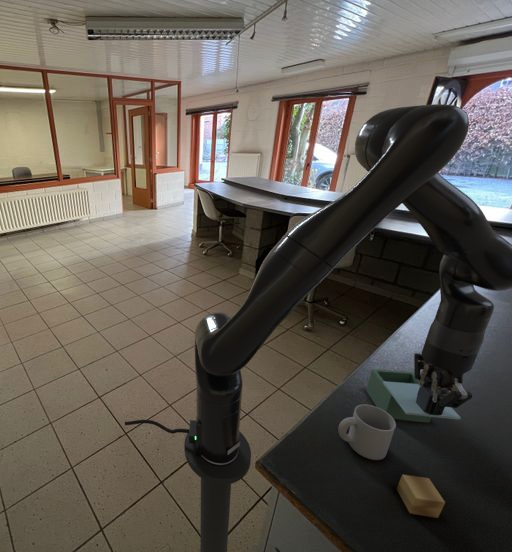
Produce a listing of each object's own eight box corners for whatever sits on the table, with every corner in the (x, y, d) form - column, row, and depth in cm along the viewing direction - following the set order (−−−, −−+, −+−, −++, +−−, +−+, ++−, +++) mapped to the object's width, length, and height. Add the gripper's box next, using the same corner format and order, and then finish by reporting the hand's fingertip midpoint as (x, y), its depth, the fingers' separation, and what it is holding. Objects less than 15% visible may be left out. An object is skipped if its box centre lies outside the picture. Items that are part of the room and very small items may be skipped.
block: (409, 513, 55) (416, 498, 53) (396, 489, 59) (402, 474, 57) (438, 518, 54) (445, 502, 52) (422, 493, 58) (428, 478, 56)
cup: (393, 463, 63) (404, 433, 60) (341, 457, 65) (349, 427, 62) (375, 434, 70) (384, 405, 67) (329, 430, 72) (335, 401, 69)
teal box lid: (406, 414, 66) (412, 395, 64) (382, 383, 75) (387, 365, 73) (460, 419, 63) (468, 400, 61) (429, 386, 72) (435, 369, 71)
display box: (384, 418, 74) (391, 394, 71) (366, 390, 83) (371, 368, 80) (429, 422, 72) (438, 399, 69) (405, 394, 81) (413, 371, 78)
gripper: (409, 323, 67) (391, 383, 73) (455, 363, 54) (428, 432, 60) (448, 325, 65) (426, 386, 72) (506, 366, 53) (473, 436, 59)
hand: (427, 407), depth 66 cm, fingers closed on teal box lid, 3 cm apart
